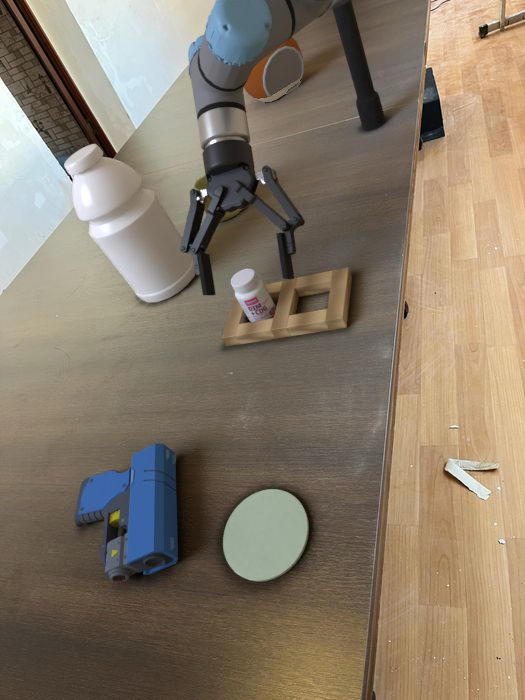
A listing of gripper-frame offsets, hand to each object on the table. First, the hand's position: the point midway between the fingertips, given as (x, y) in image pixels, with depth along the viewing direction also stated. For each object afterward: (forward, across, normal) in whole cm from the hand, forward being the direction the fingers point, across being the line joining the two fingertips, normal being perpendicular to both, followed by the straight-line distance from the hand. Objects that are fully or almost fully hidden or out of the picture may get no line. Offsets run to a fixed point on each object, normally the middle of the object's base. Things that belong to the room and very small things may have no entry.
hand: (247, 287), depth 75 cm
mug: (-21, +15, -31) cm, 40 cm away
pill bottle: (+5, 0, -5) cm, 7 cm away
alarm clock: (-65, +15, -74) cm, 100 cm away
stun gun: (+29, +12, +20) cm, 37 cm away
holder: (+4, -4, -4) cm, 8 cm away
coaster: (+29, -7, +20) cm, 36 cm away
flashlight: (-35, -15, -44) cm, 58 cm away
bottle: (-7, +25, -16) cm, 30 cm away
